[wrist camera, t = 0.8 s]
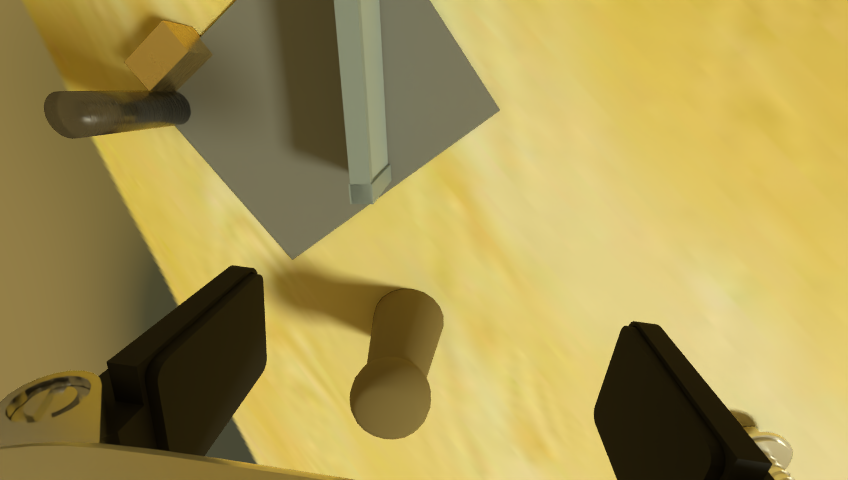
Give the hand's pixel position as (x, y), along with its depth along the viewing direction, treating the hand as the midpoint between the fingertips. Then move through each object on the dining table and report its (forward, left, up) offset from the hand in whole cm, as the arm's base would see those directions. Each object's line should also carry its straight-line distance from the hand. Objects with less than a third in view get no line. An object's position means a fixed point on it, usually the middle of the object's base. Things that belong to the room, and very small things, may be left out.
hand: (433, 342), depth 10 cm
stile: (+12, -17, -21) cm, 29 cm away
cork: (+10, +8, -21) cm, 25 cm away
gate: (0, -9, -20) cm, 22 cm away
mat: (+5, -10, -21) cm, 23 cm away
